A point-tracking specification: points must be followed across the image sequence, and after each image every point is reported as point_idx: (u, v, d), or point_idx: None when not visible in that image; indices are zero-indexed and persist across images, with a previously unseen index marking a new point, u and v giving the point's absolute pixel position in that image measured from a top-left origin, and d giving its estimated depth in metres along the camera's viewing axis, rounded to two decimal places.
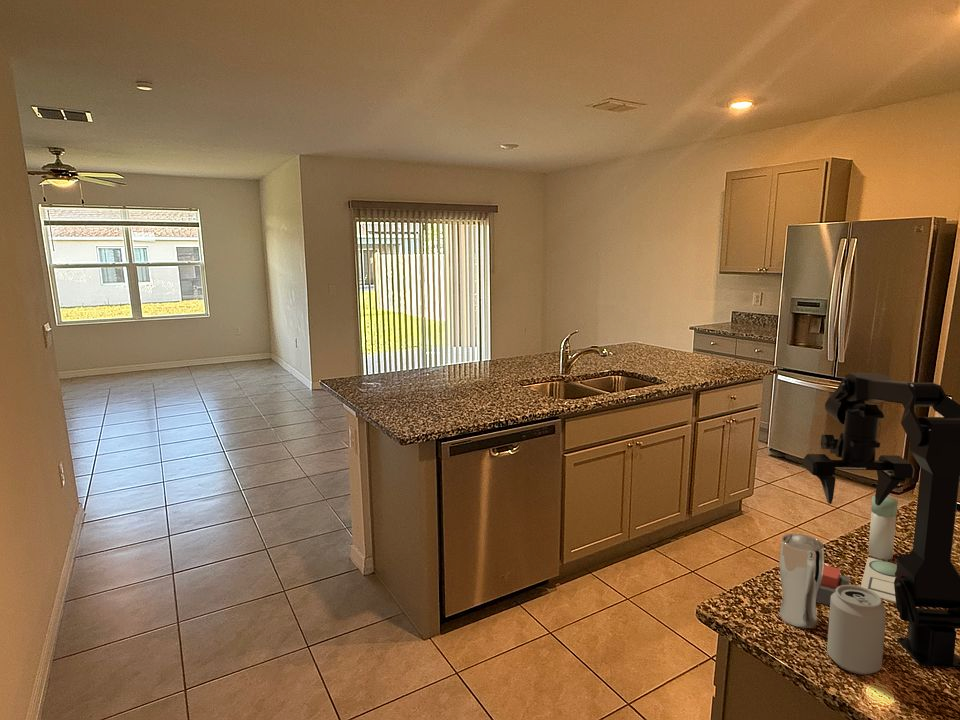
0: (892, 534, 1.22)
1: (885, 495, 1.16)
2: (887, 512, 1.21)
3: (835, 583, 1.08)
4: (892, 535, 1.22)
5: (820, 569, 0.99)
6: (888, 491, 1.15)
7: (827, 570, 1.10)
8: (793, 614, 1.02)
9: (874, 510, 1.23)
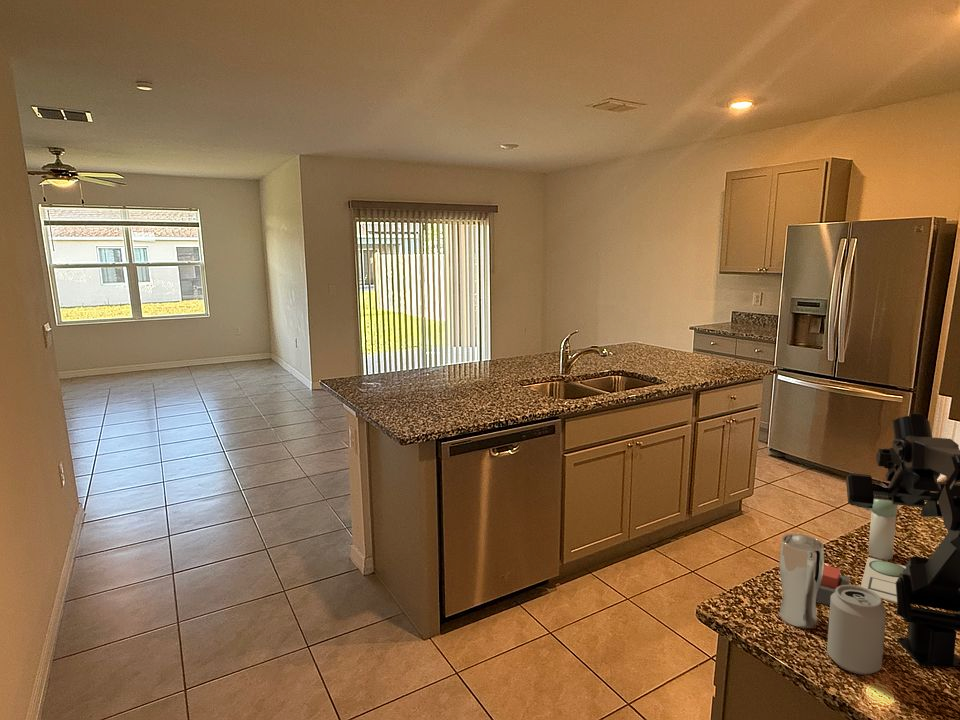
0: (892, 534, 1.22)
1: (930, 516, 1.11)
2: (887, 512, 1.21)
3: (835, 583, 1.08)
4: (892, 535, 1.22)
5: (820, 569, 0.99)
6: (933, 516, 1.10)
7: (827, 570, 1.10)
8: (793, 614, 1.02)
9: (874, 510, 1.23)
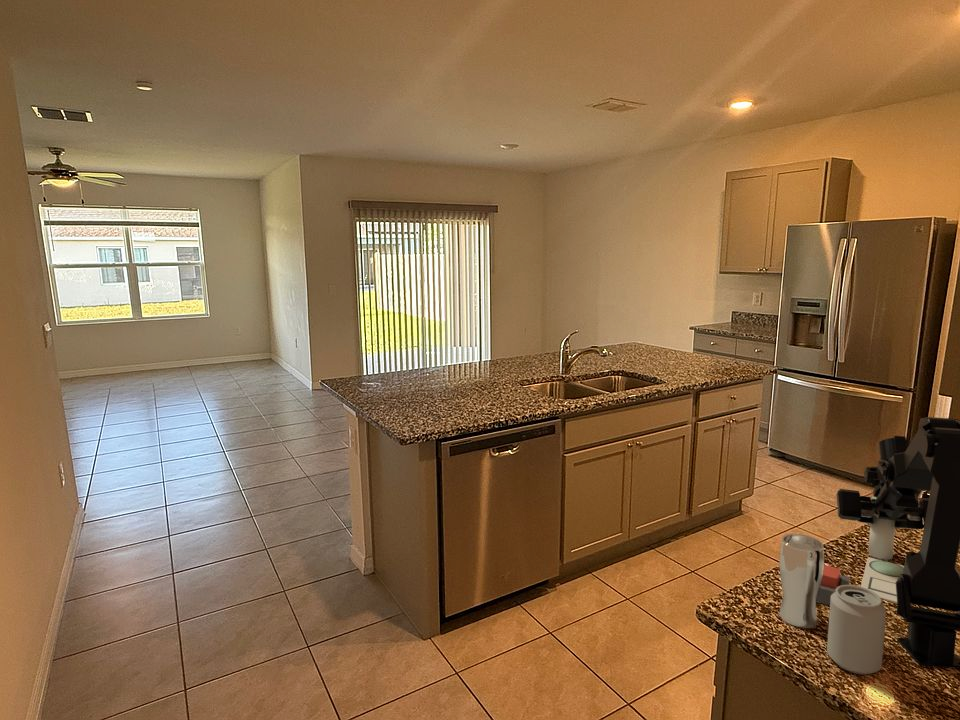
0: (892, 534, 1.22)
1: None
2: None
3: (835, 583, 1.08)
4: (892, 535, 1.22)
5: (820, 569, 0.99)
6: None
7: (827, 570, 1.10)
8: (793, 614, 1.02)
9: None
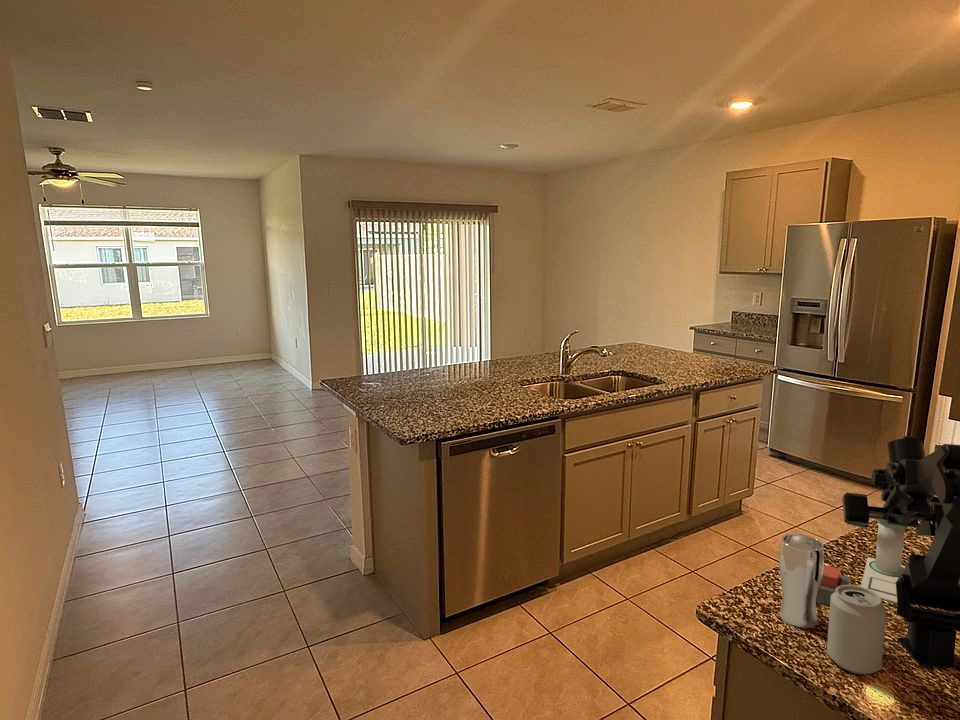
0: (900, 547, 1.16)
1: (924, 535, 1.14)
2: None
3: (835, 583, 1.08)
4: (900, 548, 1.16)
5: (820, 569, 0.99)
6: None
7: (827, 570, 1.10)
8: (793, 614, 1.02)
9: (881, 521, 1.17)
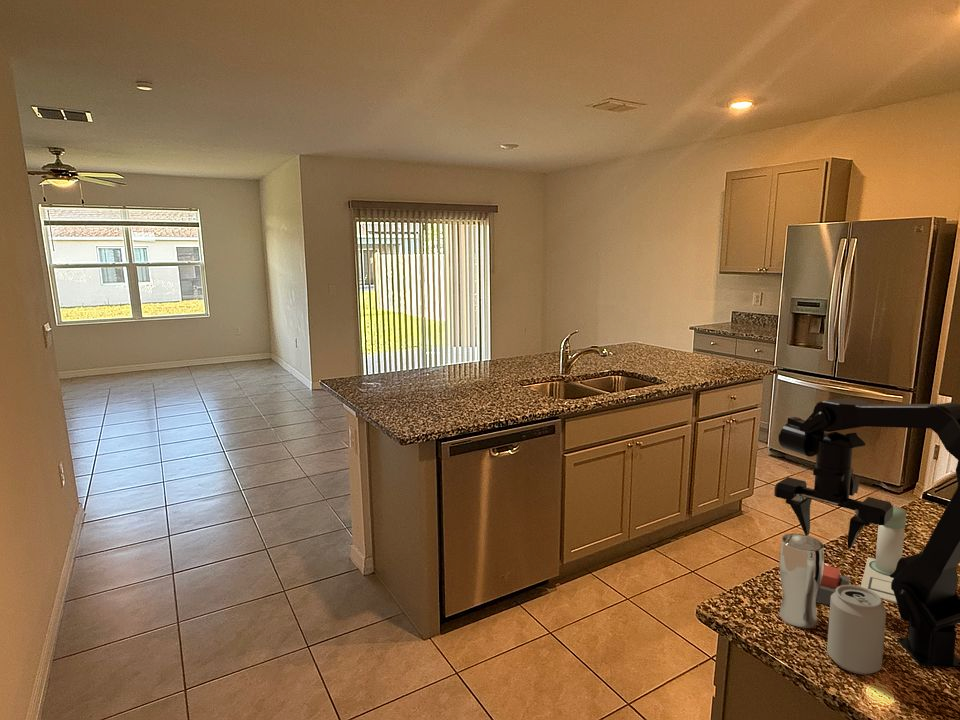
0: (900, 547, 1.16)
1: (851, 537, 1.05)
2: (895, 524, 1.15)
3: (835, 583, 1.08)
4: (900, 548, 1.16)
5: (820, 569, 0.99)
6: (852, 533, 1.04)
7: (827, 570, 1.10)
8: (793, 614, 1.02)
9: None
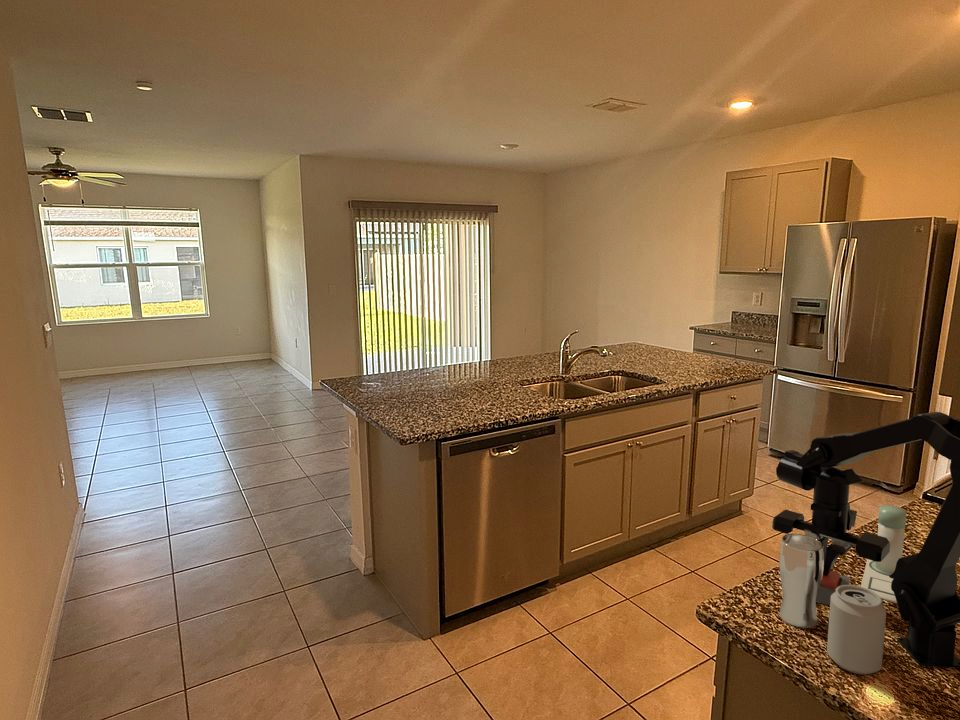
0: (900, 547, 1.16)
1: (827, 565, 1.08)
2: (895, 524, 1.15)
3: (835, 587, 1.08)
4: (900, 548, 1.16)
5: (820, 569, 0.99)
6: (828, 561, 1.08)
7: None
8: (793, 614, 1.02)
9: (881, 521, 1.17)
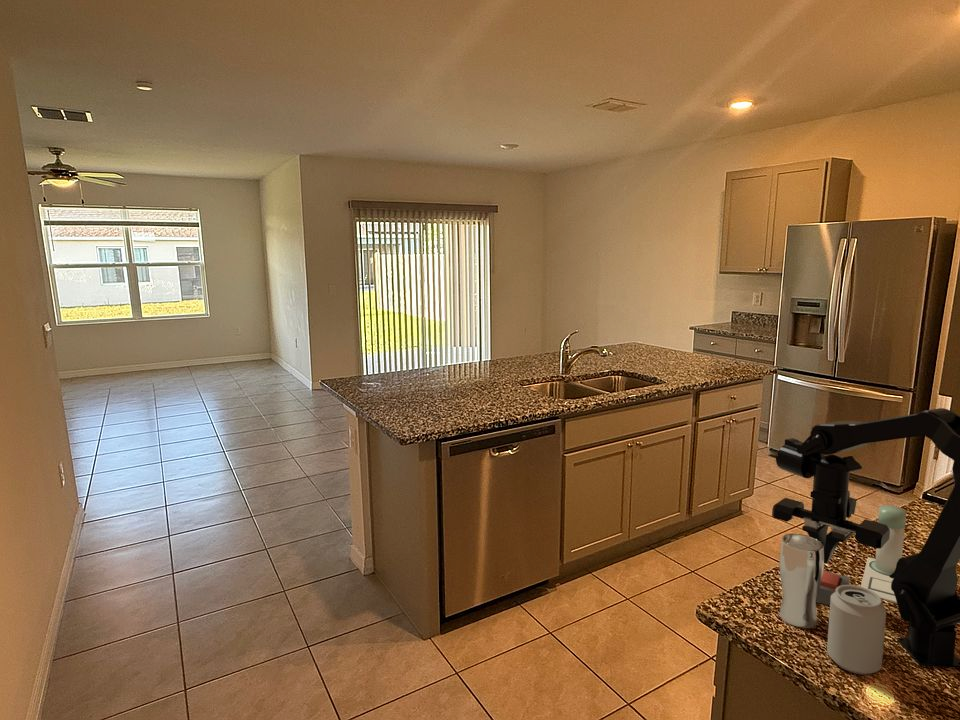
0: (900, 547, 1.16)
1: (827, 553, 1.08)
2: (895, 524, 1.15)
3: None
4: (900, 548, 1.16)
5: (820, 569, 0.99)
6: (828, 548, 1.08)
7: (827, 576, 1.11)
8: (793, 614, 1.02)
9: (881, 521, 1.17)
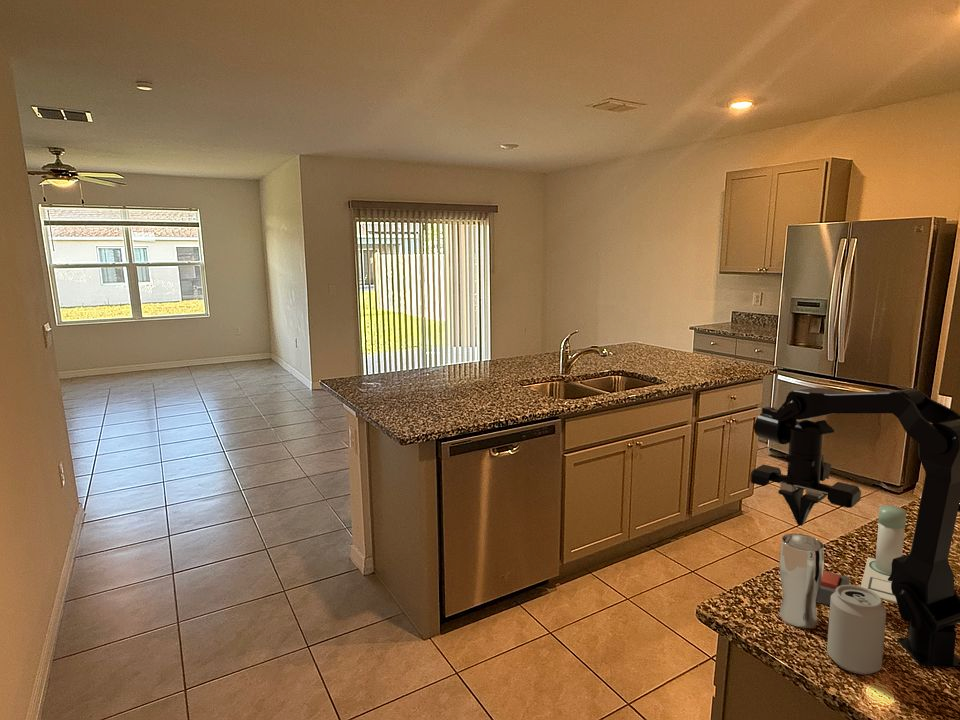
0: (900, 547, 1.16)
1: (802, 515, 1.13)
2: (895, 524, 1.15)
3: None
4: (900, 548, 1.16)
5: (820, 569, 0.99)
6: (802, 510, 1.12)
7: (827, 576, 1.11)
8: (793, 614, 1.02)
9: (881, 521, 1.17)
